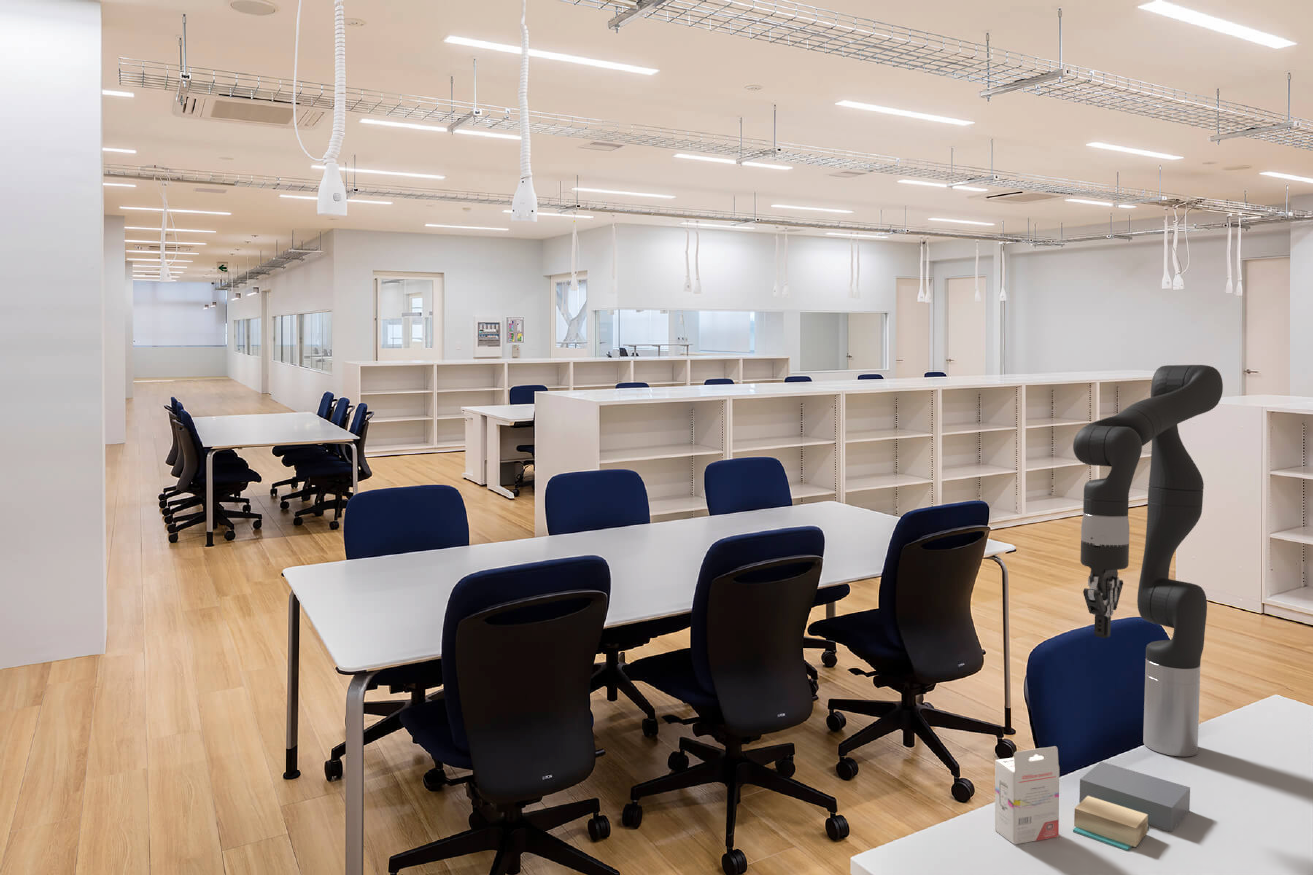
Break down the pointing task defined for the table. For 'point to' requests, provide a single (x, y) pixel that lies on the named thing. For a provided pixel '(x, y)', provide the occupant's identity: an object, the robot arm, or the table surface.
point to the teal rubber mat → (1102, 838)
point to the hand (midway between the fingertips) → (1102, 636)
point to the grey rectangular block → (1138, 794)
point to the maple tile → (1111, 820)
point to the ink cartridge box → (1027, 795)
